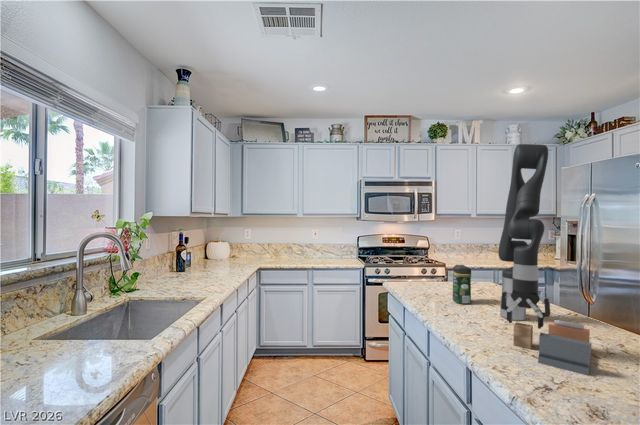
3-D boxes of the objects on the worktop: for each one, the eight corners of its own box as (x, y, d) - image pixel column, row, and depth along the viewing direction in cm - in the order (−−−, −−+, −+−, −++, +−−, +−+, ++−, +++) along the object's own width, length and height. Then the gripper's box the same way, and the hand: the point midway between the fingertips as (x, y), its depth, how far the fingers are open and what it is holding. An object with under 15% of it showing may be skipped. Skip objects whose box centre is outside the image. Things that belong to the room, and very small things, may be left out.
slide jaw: (548, 338, 118) (548, 319, 118) (549, 336, 120) (549, 317, 120) (588, 347, 111) (589, 327, 111) (589, 344, 113) (589, 324, 113)
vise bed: (538, 362, 104) (538, 336, 104) (548, 340, 122) (548, 317, 122) (588, 375, 96) (588, 347, 96) (591, 349, 114) (591, 325, 114)
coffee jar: (450, 299, 177) (451, 263, 177) (466, 300, 176) (467, 263, 176) (455, 304, 167) (456, 266, 167) (472, 305, 166) (473, 267, 166)
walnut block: (513, 345, 117) (513, 325, 117) (515, 342, 120) (516, 322, 120) (530, 349, 114) (530, 328, 114) (532, 346, 117) (532, 325, 117)
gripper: (499, 276, 118) (499, 323, 118) (549, 282, 109) (548, 333, 109) (504, 273, 124) (503, 318, 124) (551, 278, 115) (551, 327, 115)
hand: (524, 325), depth 116 cm, fingers open, 8 cm apart
